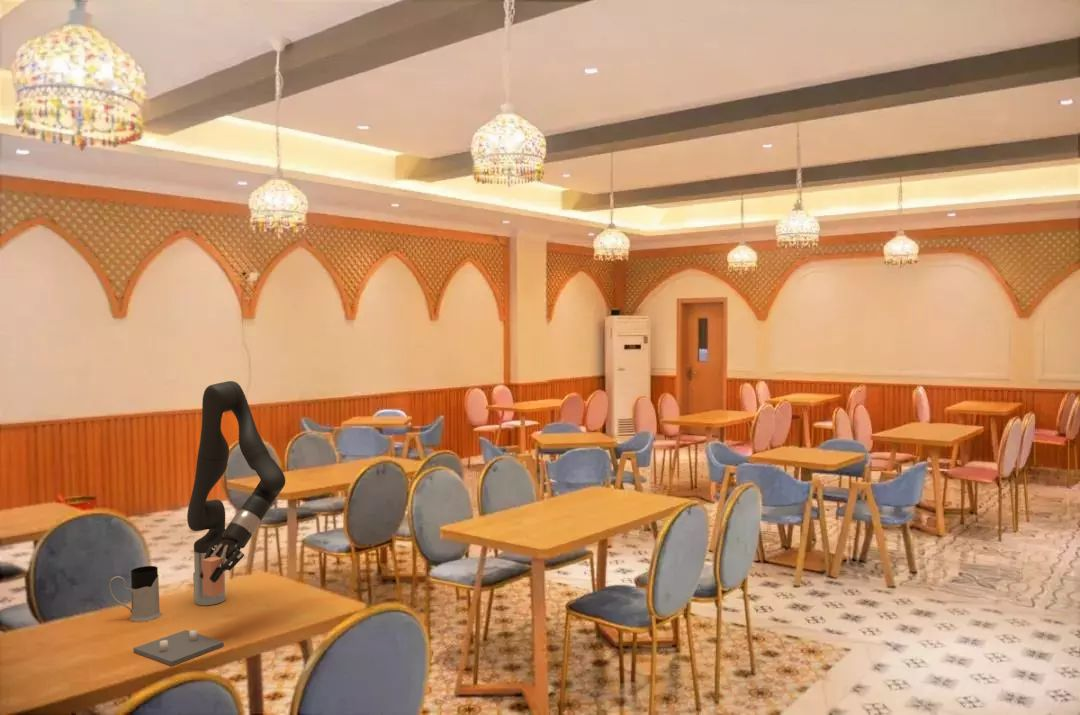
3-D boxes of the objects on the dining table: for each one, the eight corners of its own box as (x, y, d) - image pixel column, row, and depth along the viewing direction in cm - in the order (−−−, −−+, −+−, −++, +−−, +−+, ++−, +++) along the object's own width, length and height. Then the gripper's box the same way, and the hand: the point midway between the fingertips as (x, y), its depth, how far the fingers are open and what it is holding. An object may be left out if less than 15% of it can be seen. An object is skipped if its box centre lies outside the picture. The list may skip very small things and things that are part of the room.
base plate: (133, 652, 229) (133, 639, 229) (185, 634, 242) (185, 621, 242) (171, 666, 219) (171, 652, 219) (224, 646, 232) (223, 633, 232)
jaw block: (203, 594, 237) (202, 559, 237) (215, 590, 241) (214, 556, 240) (211, 596, 235) (211, 561, 235) (224, 592, 239) (223, 558, 238)
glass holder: (160, 619, 255) (158, 571, 255) (109, 626, 250) (107, 577, 250) (162, 610, 263) (160, 564, 263) (112, 616, 258) (110, 569, 258)
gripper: (218, 518, 247) (183, 569, 238) (249, 524, 240) (214, 576, 230) (233, 532, 252) (199, 582, 242) (264, 538, 245) (231, 590, 235)
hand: (207, 579), depth 236 cm, fingers closed on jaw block, 4 cm apart
